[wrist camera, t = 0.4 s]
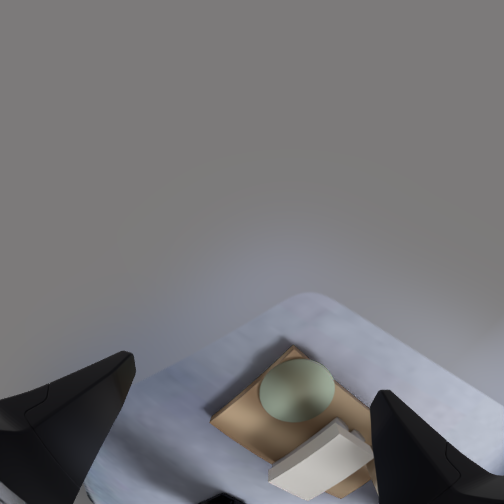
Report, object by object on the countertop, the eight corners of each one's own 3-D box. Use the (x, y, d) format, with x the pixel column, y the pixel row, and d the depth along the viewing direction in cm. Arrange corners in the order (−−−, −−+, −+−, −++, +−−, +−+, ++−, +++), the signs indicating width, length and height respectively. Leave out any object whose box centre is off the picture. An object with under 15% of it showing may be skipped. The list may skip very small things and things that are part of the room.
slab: (304, 478, 24) (307, 501, 20) (268, 458, 24) (268, 482, 20) (364, 435, 23) (375, 456, 19) (331, 411, 24) (339, 433, 20)
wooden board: (339, 493, 25) (341, 500, 23) (210, 416, 26) (208, 423, 24) (414, 437, 24) (418, 443, 23) (296, 339, 25) (298, 344, 24)
